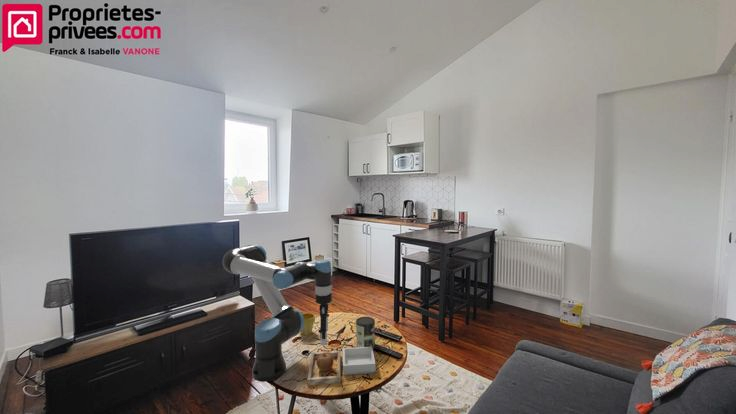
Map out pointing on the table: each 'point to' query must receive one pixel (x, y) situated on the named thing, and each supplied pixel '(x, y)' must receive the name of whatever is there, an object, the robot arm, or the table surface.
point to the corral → (323, 379)
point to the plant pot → (308, 323)
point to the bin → (358, 361)
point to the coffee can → (365, 332)
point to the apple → (325, 361)
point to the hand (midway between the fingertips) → (324, 337)
